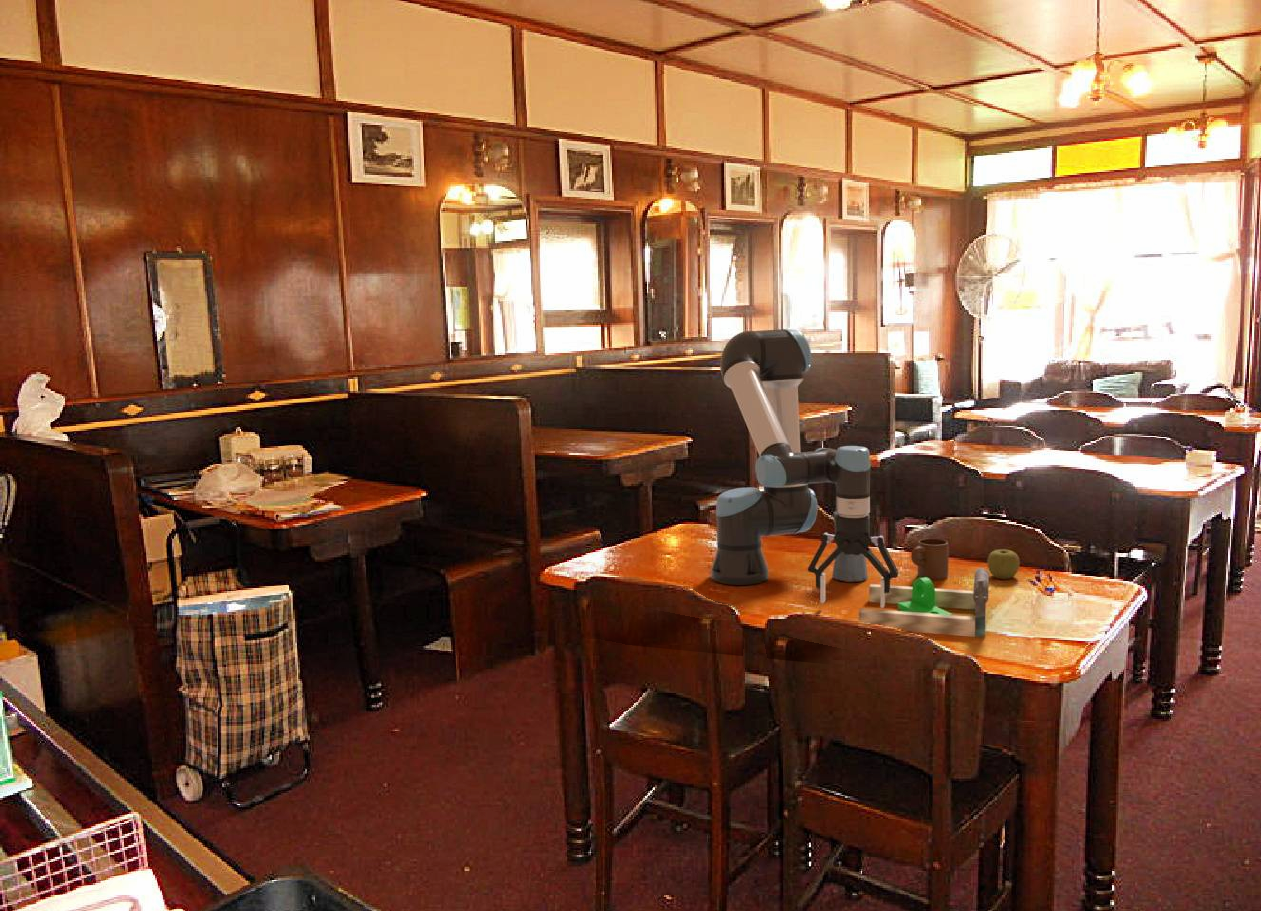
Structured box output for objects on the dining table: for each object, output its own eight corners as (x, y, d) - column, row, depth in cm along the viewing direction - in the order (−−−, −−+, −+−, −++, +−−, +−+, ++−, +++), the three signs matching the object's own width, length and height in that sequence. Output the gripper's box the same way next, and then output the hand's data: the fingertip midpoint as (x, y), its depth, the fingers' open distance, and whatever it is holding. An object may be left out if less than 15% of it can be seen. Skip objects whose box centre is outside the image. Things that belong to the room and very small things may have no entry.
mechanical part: (897, 611, 217) (898, 577, 215) (919, 607, 219) (919, 574, 217) (930, 626, 205) (930, 591, 204) (953, 622, 207) (953, 588, 206)
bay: (857, 630, 204) (857, 573, 202) (870, 599, 225) (870, 547, 223) (987, 641, 195) (988, 581, 193) (987, 608, 215) (989, 554, 213)
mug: (924, 586, 234) (925, 549, 233) (900, 579, 240) (900, 544, 239) (954, 577, 241) (954, 541, 239) (929, 571, 247) (930, 536, 246)
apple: (982, 579, 238) (982, 552, 237) (994, 572, 244) (995, 545, 243) (1012, 584, 233) (1012, 556, 232) (1024, 577, 239) (1024, 550, 238)
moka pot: (874, 572, 247) (874, 499, 244) (863, 589, 234) (863, 511, 231) (838, 569, 251) (838, 497, 248) (825, 585, 238) (824, 509, 235)
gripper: (795, 515, 214) (795, 604, 217) (908, 520, 205) (907, 613, 208) (801, 508, 221) (801, 594, 224) (910, 513, 212) (909, 602, 215)
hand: (852, 603), depth 216 cm, fingers open, 13 cm apart
